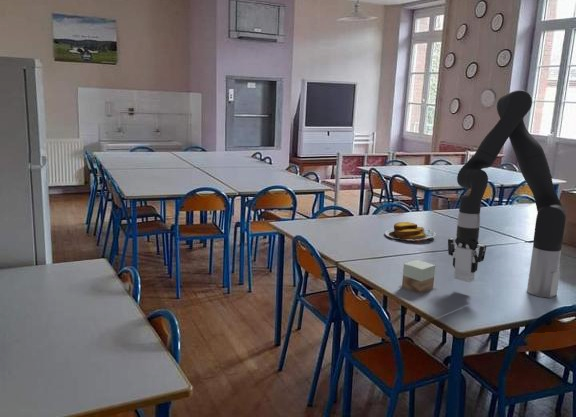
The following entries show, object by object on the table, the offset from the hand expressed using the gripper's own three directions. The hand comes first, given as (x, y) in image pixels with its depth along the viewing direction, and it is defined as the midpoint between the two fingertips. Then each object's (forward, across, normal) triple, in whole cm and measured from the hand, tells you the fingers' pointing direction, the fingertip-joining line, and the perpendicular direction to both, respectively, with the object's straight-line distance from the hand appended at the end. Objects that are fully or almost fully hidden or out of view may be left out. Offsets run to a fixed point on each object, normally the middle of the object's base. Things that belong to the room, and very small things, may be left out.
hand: (464, 269), depth 193 cm
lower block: (+8, +12, +10) cm, 18 cm away
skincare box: (+4, 0, 0) cm, 4 cm away
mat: (+8, +12, +10) cm, 18 cm away
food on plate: (+8, +58, -51) cm, 77 cm away
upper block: (+3, +12, +10) cm, 16 cm away
